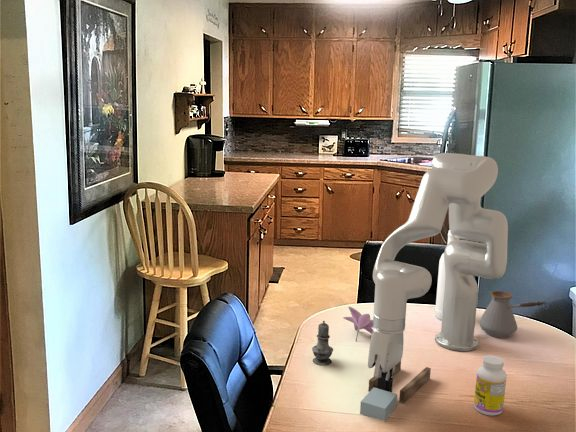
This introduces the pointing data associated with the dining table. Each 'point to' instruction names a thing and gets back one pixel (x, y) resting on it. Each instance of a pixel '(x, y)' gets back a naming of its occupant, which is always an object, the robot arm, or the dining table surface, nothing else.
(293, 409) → the dining table surface
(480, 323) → the coffee pot
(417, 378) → the walnut chute
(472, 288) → the robot arm
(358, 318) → the lily
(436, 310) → the bottle
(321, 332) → the salt shaker
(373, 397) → the slate block
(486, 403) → the supplement bottle
